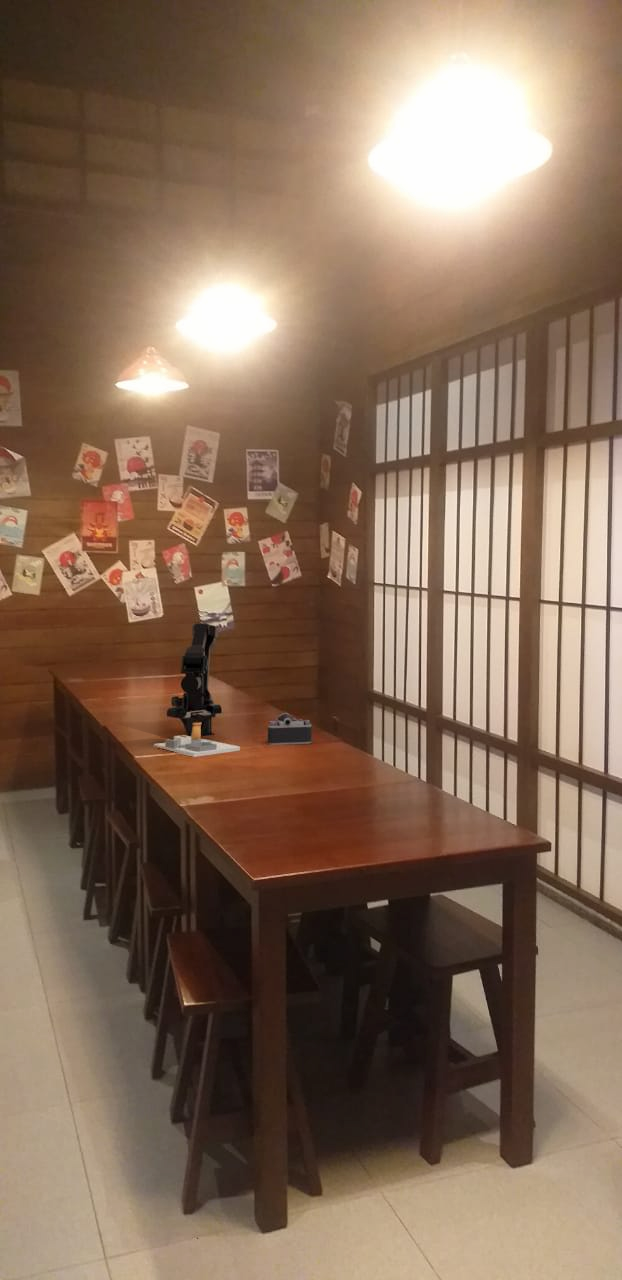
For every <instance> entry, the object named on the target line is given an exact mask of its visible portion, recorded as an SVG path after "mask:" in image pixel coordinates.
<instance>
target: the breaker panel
mask: <svg viewBox="0 0 622 1280" xmlns="http://www.w3.org/2000/svg"><path fill="white" fill-rule="evenodd" d="M154 746H157V747H160V748H164V749H167V750H170V751H174V752H173V753H175V752H177V753H176V754H179V753H180V755H185V756H188V757H192V758H195V757H196V758H197V757H202V756H203V757H204V756H211V755H217V754H225V753H232V752H237V751H240V750H241V746H238V745H234V744H229V743H224V742H219V741H215V740H210V739H204V738H201V739H198V740H191V743H190V744H186V745H179V746H178V747H177V741H176V740H174V739H169V738H165V741H164V742H159V743H153V747H154ZM170 751H169V752H170Z"/></svg>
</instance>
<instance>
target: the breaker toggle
mask: <svg viewBox="0 0 622 1280" xmlns="http://www.w3.org/2000/svg"><path fill="white" fill-rule="evenodd" d="M173 740H176V741H177V747H178V746H179V745H186V744H190V743H191V737H190V736H188V735H187V734H186V735H185V734H182V735H181V734H179V735H174V736H173Z"/></svg>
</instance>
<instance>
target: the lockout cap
mask: <svg viewBox="0 0 622 1280" xmlns="http://www.w3.org/2000/svg"><path fill="white" fill-rule="evenodd" d="M201 724H202V722H193V726H192V734H191V740H198V739H202V738H201V737H202V736H201Z"/></svg>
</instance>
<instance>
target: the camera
mask: <svg viewBox="0 0 622 1280" xmlns="http://www.w3.org/2000/svg"><path fill="white" fill-rule="evenodd" d="M312 728H313V727H312V724H311V722H310V720H309V719H305V720H304V719H301V718H300V719H298V718H293V716H292V715H290V714H289V713H286V712H285V713H282V714H280V715H279V716H277V717H276V720H275V721H274V720H270V721H269V725H268V726H267V727H266V730H267V744H268V745H271V746H272V745H273V746H275V745H276V746H279V745H302V744H303V745H305V744H306V745H307V744H312V735H313V734H312V733H313V732H312V731H313V730H312Z"/></svg>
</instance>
